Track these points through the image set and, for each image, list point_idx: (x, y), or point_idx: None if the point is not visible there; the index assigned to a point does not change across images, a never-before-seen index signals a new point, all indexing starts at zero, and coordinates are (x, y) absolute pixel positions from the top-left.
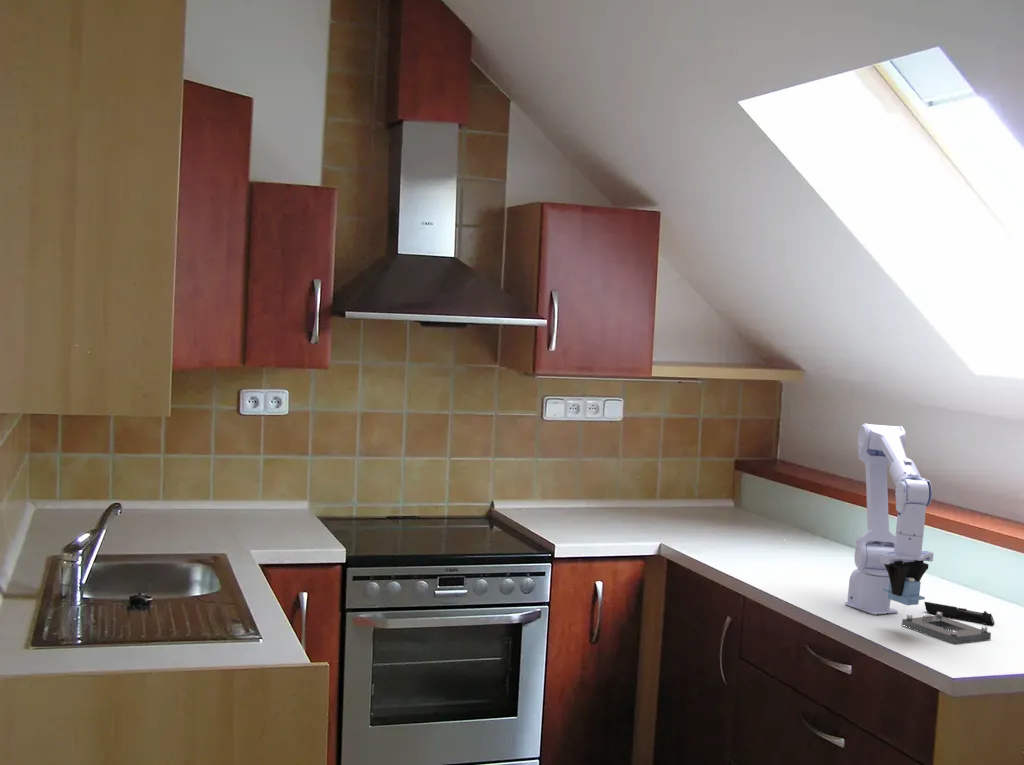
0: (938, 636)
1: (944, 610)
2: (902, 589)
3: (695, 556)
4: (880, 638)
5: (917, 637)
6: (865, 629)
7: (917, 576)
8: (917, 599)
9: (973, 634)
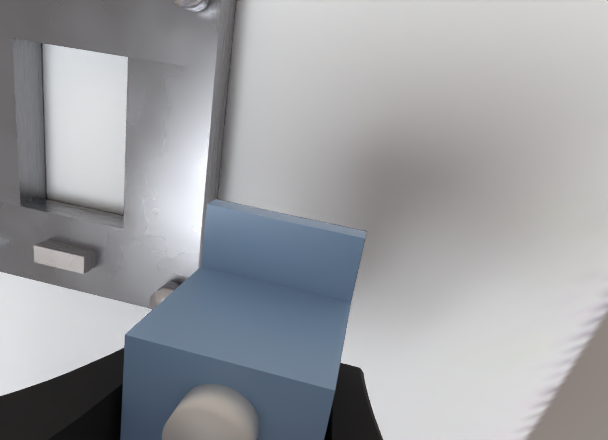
0: (224, 86)
1: None
2: (345, 394)
3: None
4: (544, 247)
5: (319, 156)
6: (449, 365)
7: (75, 428)
8: (308, 221)
9: None
